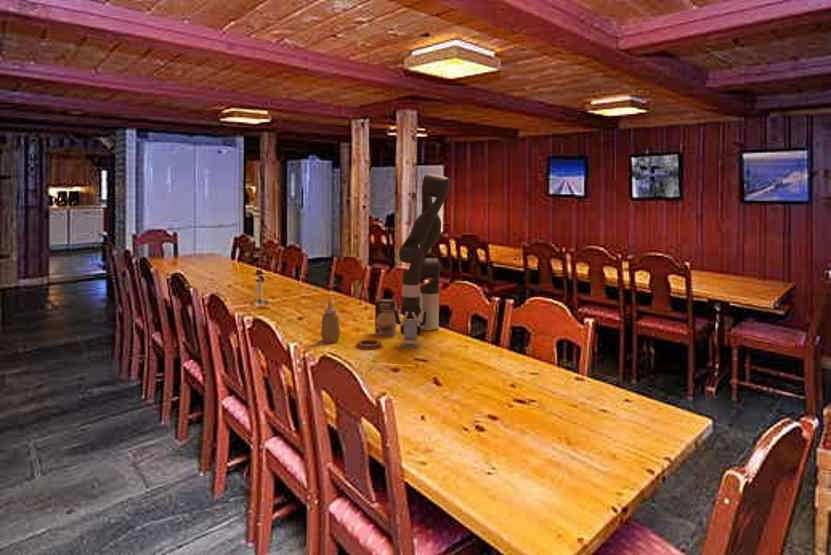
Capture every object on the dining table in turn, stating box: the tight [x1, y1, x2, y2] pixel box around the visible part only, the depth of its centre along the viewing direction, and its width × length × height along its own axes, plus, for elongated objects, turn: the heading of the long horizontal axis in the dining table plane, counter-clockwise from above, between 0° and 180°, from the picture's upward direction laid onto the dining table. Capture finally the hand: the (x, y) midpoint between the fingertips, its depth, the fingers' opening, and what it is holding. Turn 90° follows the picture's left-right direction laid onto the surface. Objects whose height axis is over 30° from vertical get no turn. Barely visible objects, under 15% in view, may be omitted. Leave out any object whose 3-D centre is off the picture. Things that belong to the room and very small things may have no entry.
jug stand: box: [354, 338, 384, 352], centre depth 229 cm, size 12×12×2 cm
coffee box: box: [374, 298, 398, 337], centre depth 248 cm, size 9×6×16 cm
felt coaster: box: [398, 341, 422, 349], centre depth 232 cm, size 9×9×1 cm
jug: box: [403, 319, 419, 342], centre depth 228 cm, size 11×6×8 cm, turn 171°
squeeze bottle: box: [320, 300, 341, 344], centre depth 235 cm, size 8×8×18 cm
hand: (410, 334), depth 231 cm, fingers closed on jug, 5 cm apart
